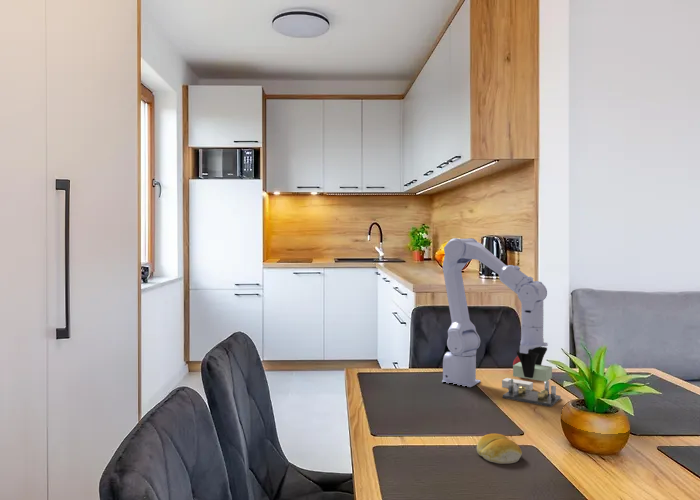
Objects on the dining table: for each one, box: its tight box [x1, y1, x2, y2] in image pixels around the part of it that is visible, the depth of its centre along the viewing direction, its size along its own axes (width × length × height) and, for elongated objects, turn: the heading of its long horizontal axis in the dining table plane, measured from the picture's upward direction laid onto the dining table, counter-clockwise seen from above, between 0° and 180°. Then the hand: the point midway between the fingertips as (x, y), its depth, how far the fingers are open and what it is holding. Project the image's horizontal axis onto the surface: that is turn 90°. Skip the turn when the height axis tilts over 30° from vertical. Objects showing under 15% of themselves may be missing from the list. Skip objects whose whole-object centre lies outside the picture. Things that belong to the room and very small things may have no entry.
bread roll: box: [476, 433, 523, 465], centre depth 106 cm, size 8×9×4 cm
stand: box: [501, 377, 534, 391], centre depth 153 cm, size 8×3×2 cm, turn 53°
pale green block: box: [512, 362, 553, 383], centre depth 143 cm, size 9×5×3 cm, turn 52°
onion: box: [512, 355, 521, 366], centre depth 166 cm, size 6×6×8 cm
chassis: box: [502, 378, 562, 408], centre depth 143 cm, size 13×9×4 cm
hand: (531, 375), depth 143 cm, fingers closed on pale green block, 5 cm apart
